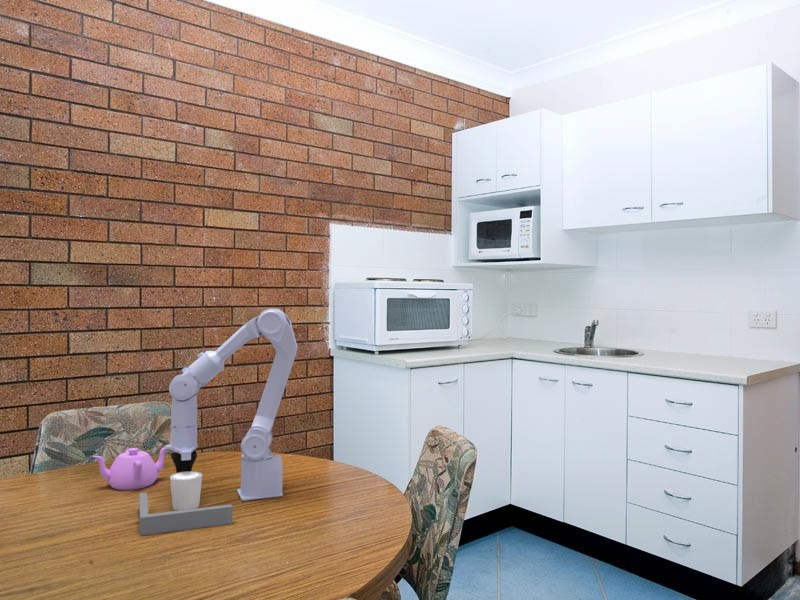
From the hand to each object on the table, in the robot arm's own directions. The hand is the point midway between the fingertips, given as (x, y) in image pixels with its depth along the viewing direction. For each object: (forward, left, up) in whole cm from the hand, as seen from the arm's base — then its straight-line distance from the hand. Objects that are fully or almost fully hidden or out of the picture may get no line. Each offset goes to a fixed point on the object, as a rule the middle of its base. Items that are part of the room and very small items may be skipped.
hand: (183, 483), depth 142 cm
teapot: (+11, -14, -3) cm, 18 cm away
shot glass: (0, +7, -3) cm, 8 cm away
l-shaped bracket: (0, +14, -3) cm, 14 cm away
